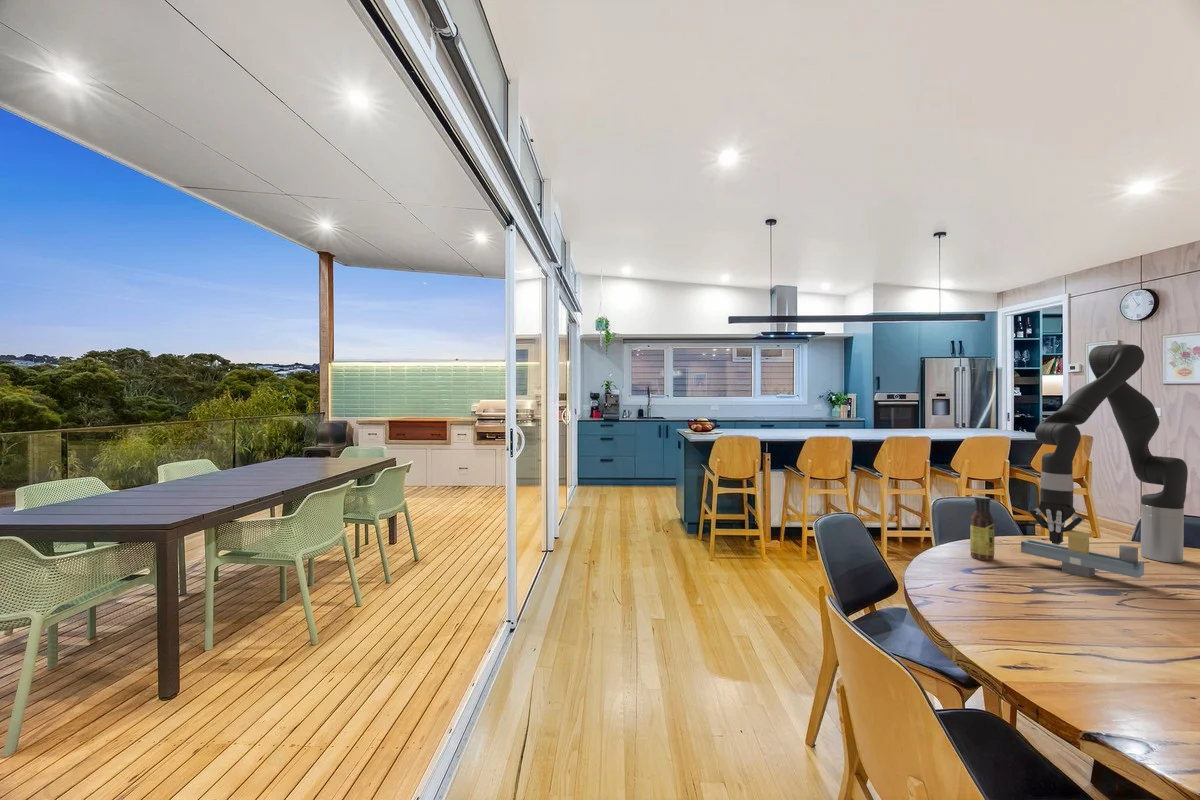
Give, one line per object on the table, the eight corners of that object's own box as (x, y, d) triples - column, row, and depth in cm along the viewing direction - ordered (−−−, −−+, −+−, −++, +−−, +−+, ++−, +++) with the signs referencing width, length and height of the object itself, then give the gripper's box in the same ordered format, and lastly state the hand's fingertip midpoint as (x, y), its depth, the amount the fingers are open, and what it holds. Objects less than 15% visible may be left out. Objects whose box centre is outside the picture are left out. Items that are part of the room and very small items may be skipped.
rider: (1065, 556, 149) (1065, 532, 149) (1073, 552, 152) (1073, 529, 152) (1083, 559, 146) (1083, 535, 146) (1091, 556, 149) (1091, 532, 149)
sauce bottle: (994, 562, 158) (995, 500, 158) (969, 558, 162) (970, 497, 162) (994, 557, 163) (994, 496, 163) (970, 553, 167) (970, 494, 167)
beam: (1020, 561, 159) (1021, 529, 159) (1027, 559, 162) (1027, 526, 161) (1138, 589, 137) (1138, 551, 136) (1143, 585, 139) (1144, 548, 139)
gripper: (1090, 489, 150) (1089, 547, 150) (1034, 483, 161) (1034, 536, 161) (1080, 492, 146) (1080, 551, 146) (1024, 485, 157) (1024, 540, 157)
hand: (1055, 543), depth 154 cm, fingers closed
